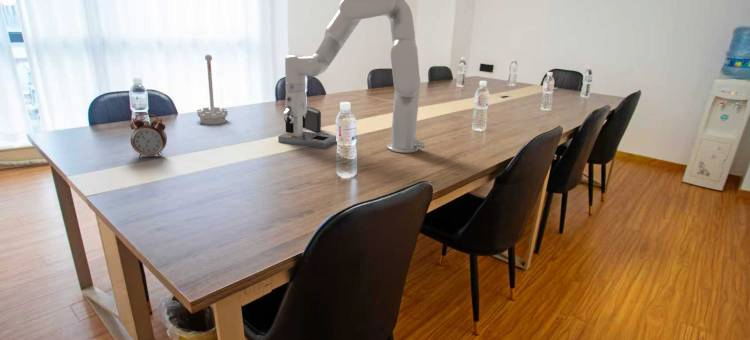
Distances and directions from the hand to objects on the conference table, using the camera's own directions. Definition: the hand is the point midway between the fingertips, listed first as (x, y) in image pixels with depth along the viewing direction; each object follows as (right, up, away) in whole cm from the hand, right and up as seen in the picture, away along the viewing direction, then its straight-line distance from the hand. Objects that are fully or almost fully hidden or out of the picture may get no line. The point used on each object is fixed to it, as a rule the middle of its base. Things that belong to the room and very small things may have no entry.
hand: (295, 129), depth 174 cm
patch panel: (+5, -5, 0) cm, 7 cm away
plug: (0, -4, +1) cm, 4 cm away
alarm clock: (-45, -12, -27) cm, 53 cm away
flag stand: (-43, +6, +25) cm, 50 cm away
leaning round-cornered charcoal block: (+3, +2, +20) cm, 20 cm away
